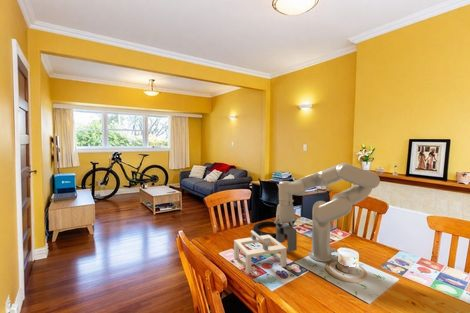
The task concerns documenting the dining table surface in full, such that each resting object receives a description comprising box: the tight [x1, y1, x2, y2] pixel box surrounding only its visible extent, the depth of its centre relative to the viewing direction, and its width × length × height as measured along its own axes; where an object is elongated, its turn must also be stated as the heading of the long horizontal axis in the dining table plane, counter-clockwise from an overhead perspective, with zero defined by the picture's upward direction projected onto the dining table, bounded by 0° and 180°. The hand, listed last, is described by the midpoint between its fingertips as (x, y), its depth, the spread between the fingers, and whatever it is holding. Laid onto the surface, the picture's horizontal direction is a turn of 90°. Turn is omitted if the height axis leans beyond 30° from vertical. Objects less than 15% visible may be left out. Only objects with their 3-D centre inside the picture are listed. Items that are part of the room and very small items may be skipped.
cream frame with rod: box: [233, 229, 288, 275], centre depth 133 cm, size 22×19×14 cm
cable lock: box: [252, 220, 287, 240], centre depth 176 cm, size 28×4×30 cm
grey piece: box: [275, 222, 298, 252], centre depth 144 cm, size 14×5×12 cm, turn 20°
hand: (285, 232), depth 144 cm, fingers closed on grey piece, 5 cm apart
